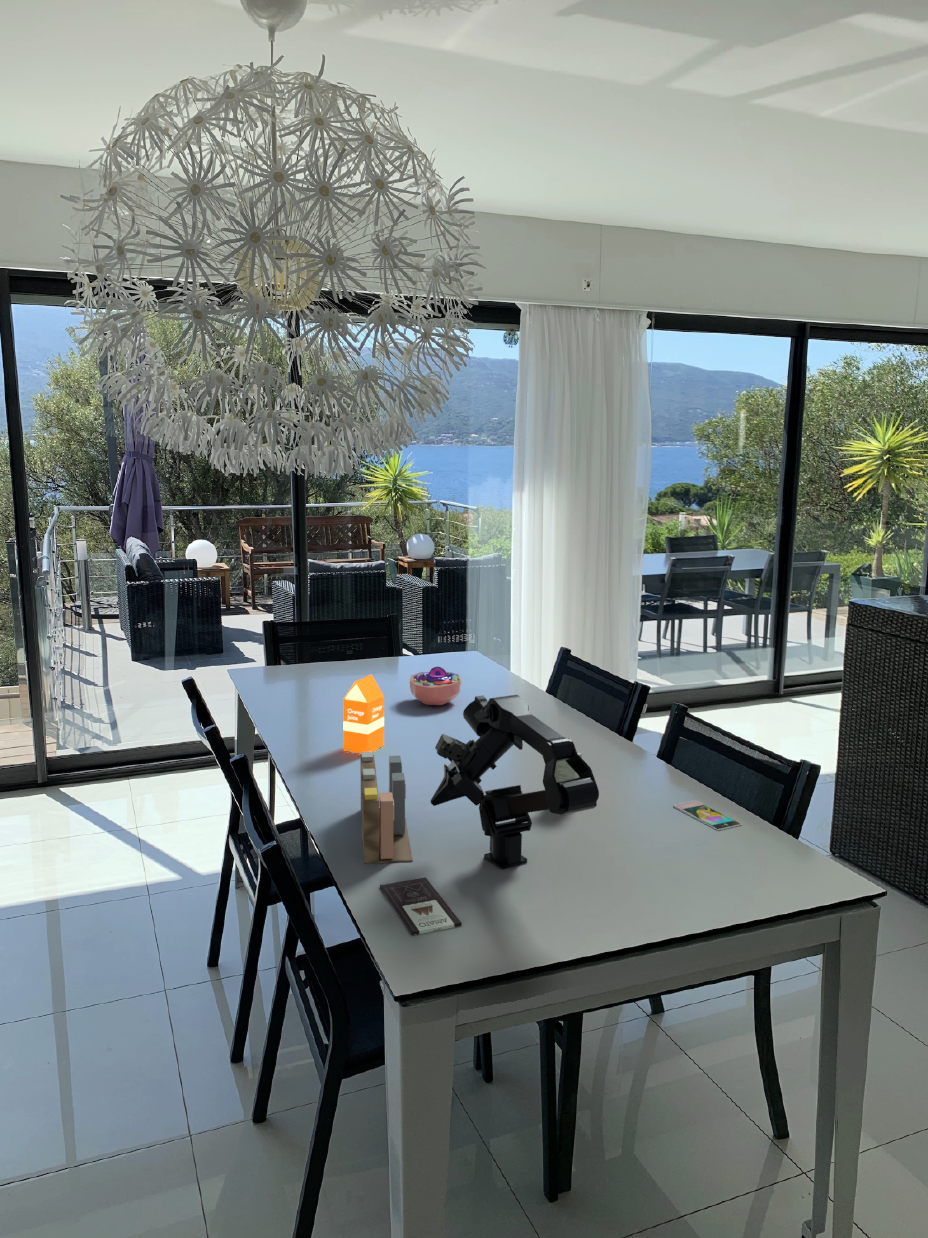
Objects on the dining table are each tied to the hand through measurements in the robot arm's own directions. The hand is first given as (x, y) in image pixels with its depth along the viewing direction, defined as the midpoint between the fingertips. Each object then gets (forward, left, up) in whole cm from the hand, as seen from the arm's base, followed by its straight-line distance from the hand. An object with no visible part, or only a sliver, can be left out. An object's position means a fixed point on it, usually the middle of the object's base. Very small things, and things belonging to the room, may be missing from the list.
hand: (432, 803), depth 180 cm
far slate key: (+23, -4, -10) cm, 25 cm away
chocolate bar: (-16, +12, -12) cm, 23 cm away
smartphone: (-14, -64, -12) cm, 66 cm away
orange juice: (+66, -18, -11) cm, 69 cm away
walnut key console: (+14, +3, -11) cm, 18 cm away
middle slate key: (+13, +1, -10) cm, 16 cm away
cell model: (+95, -58, -11) cm, 112 cm away
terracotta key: (+4, +8, -11) cm, 14 cm away
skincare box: (+8, -41, -11) cm, 43 cm away
